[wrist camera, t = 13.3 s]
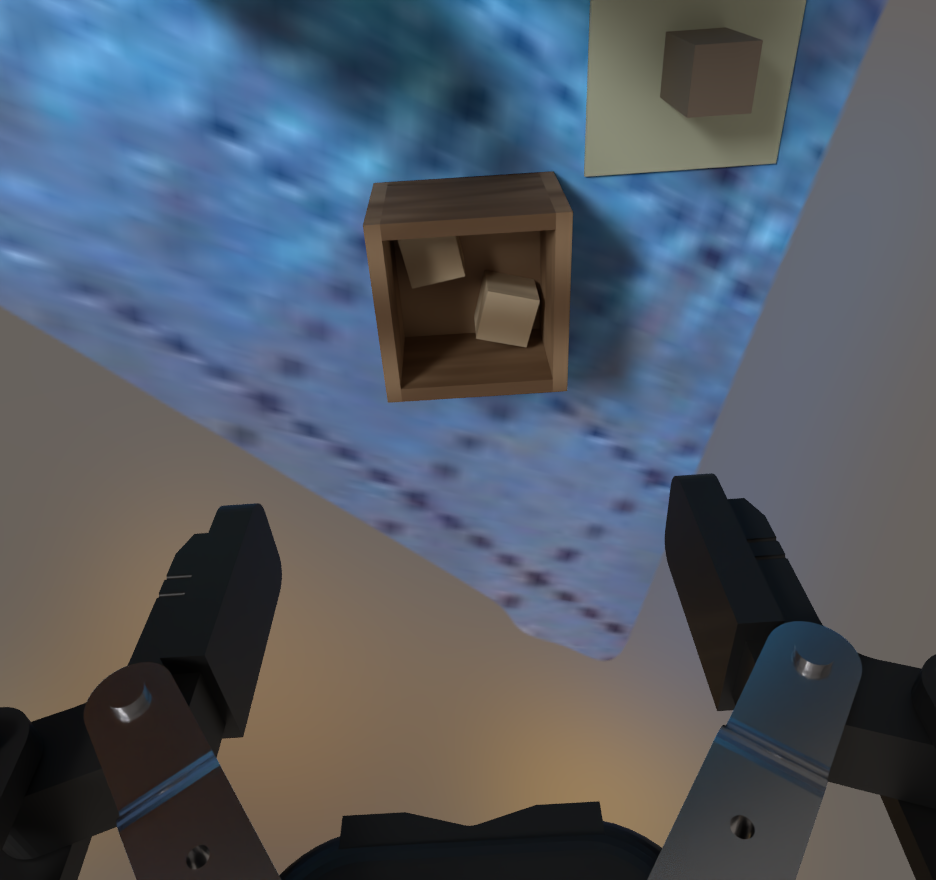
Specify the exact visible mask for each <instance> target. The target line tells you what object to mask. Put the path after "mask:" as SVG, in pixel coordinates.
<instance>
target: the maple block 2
mask: <svg viewBox="0 0 936 880" xmlns="http://www.w3.org/2000/svg"><path fill="white" fill-rule="evenodd" d="M539 302H540V299H539V296H538V292H537V288H536V285H535V281H534V279H529V278H524V277H519V276H513V275H508V274H503V273H498V272H492V271H487V270H485V272H484V276H483V280H482V284H481V289H480V293H479V297H478V301H477V306H476V310H475V314H474V321H475V331H476V339H481V340H486V341H492V342H498V343H504V344H509V345H515V346H521V347H527V344H528V340H529V337H530V333H531V330H532V326H533V323H534V319H535V316H536V312H537V309H538V306H539Z"/></svg>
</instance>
